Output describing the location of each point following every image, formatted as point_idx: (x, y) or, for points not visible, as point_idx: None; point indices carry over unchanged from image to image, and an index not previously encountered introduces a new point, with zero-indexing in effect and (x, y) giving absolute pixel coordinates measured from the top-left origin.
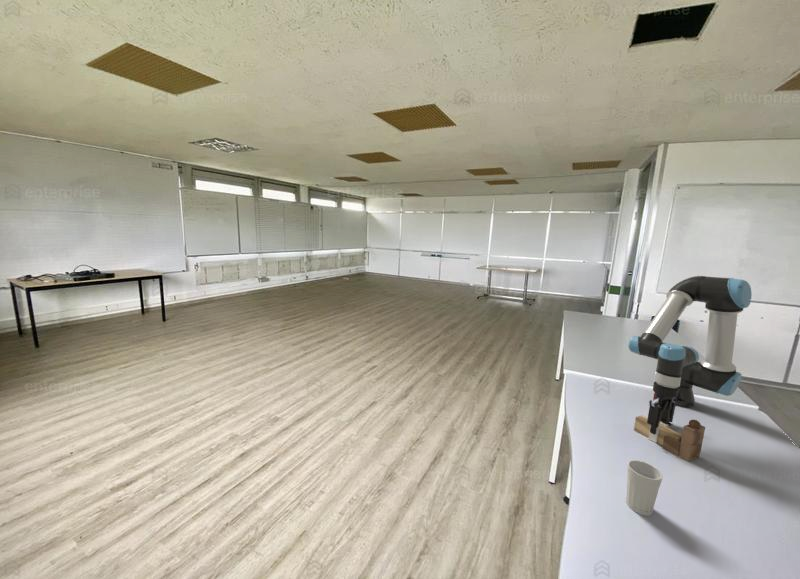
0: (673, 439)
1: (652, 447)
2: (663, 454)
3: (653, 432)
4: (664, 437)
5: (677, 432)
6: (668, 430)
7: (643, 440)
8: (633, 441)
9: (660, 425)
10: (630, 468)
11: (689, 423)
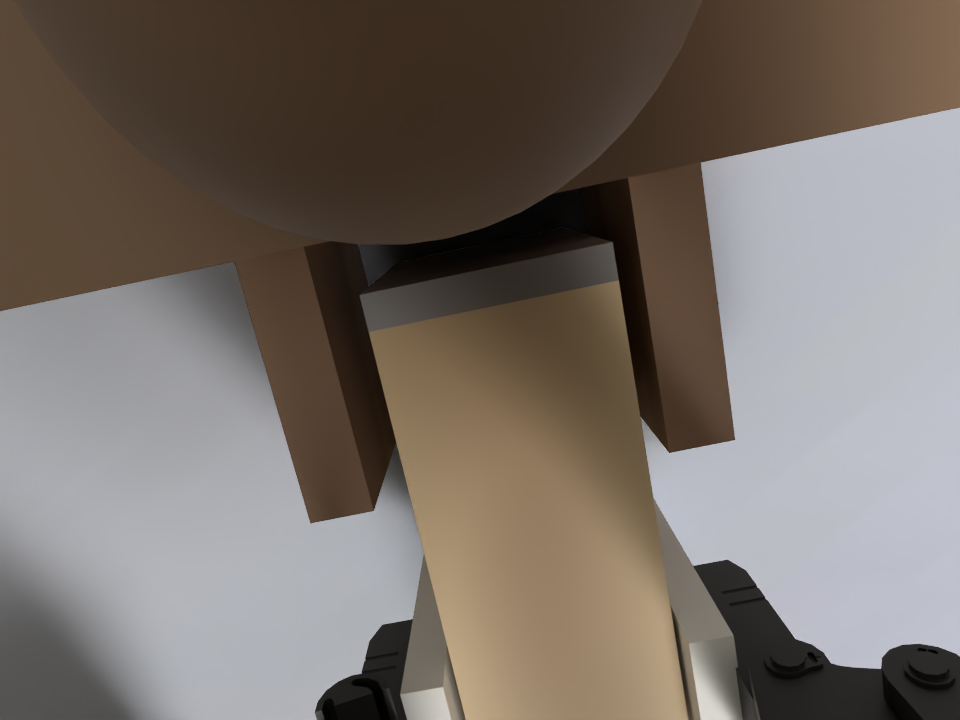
0: (664, 313)
1: (790, 400)
2: (798, 239)
3: (750, 587)
4: (726, 421)
5: (403, 465)
6: (534, 551)
7: (754, 551)
8: (925, 546)
9: (521, 717)
10: None
11: (677, 52)
